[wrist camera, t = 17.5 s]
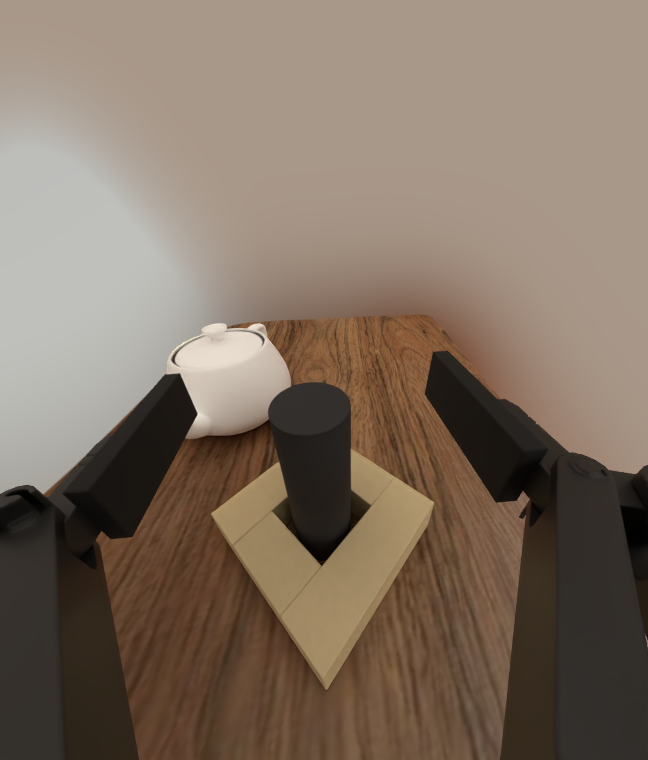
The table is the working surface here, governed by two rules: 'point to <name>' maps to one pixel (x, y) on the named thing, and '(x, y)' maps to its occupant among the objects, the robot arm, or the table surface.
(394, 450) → the table surface
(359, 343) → the table surface
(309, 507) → the black cylinder peg
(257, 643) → the table surface
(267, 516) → the base pad
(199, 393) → the teapot
